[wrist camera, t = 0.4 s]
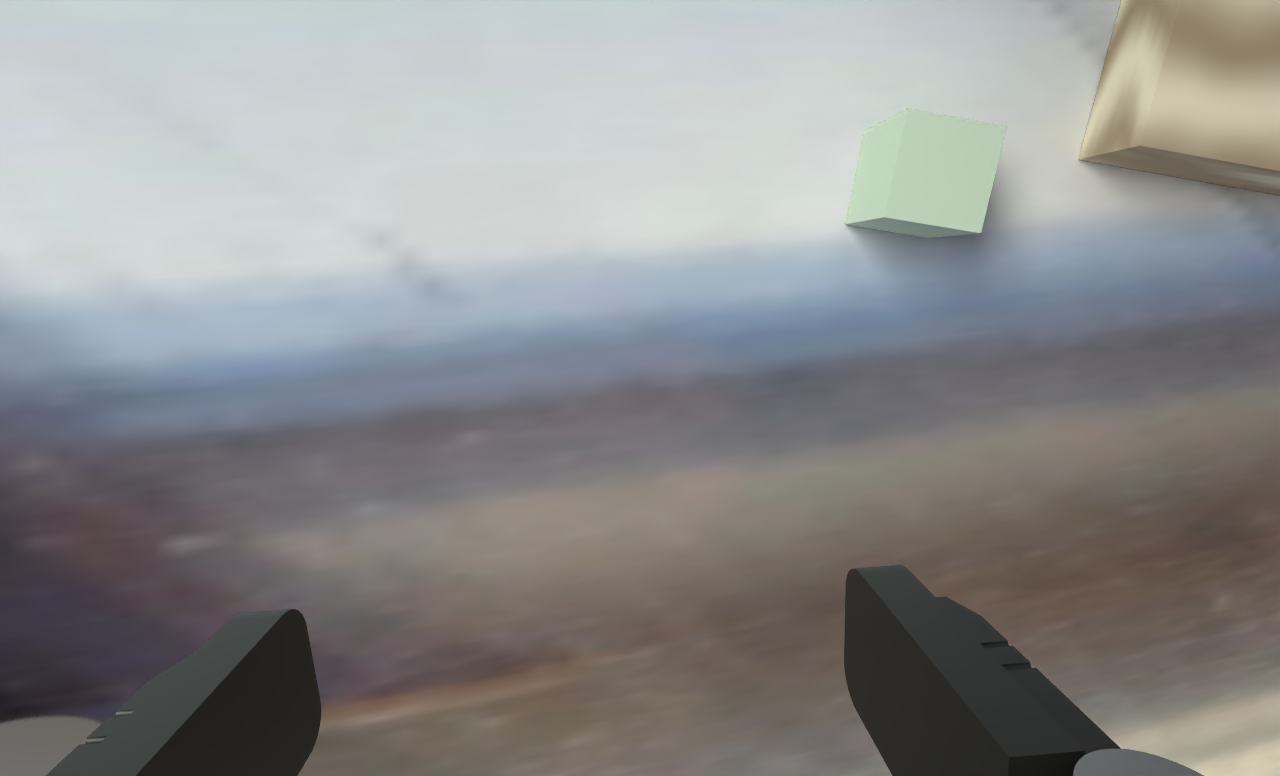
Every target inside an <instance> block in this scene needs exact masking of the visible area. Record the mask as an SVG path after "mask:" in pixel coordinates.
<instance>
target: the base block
mask: <svg viewBox="0 0 1280 776" xmlns="http://www.w3.org/2000/svg"><path fill="white" fill-rule="evenodd" d="M1079 160H1084V161H1090V162H1095V163H1101V164H1107V165H1112V166H1118V167H1123V168H1129V169H1134V170H1140V171H1146V172H1151V173H1157V174H1162V175H1168V176H1174V177H1179V178H1185V179H1190V180H1196V181H1202V182H1207V183H1213V184H1218V185H1224V186H1230V187H1235V188H1241V189H1246V190H1252V191H1257V192H1263V193H1269V194H1274V195H1280V0H1121V4H1120V8H1119V11H1118V15H1117V19H1116V23H1115V26H1114V30H1113V34H1112V37H1111V41H1110V45H1109V49H1108V52H1107V56H1106V60H1105V63H1104V67H1103V71H1102V75H1101V78H1100V82H1099V86H1098V89H1097V93H1096V97H1095V100H1094V104H1093V108H1092V112H1091V115H1090V119H1089V123H1088V126H1087V130H1086V134H1085V138H1084V141H1083V145H1082V149H1081V152H1080V156H1079Z"/></svg>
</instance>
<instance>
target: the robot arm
mask: <svg viewBox="0 0 1280 776" xmlns="http://www.w3.org/2000/svg"><path fill="white" fill-rule="evenodd" d="M844 666H845V675H846V681H847V685H848V689H849V693H850V696H851V699H852V702H853V704H854V707H855V709H856V711H857V712H858V714H859V716H860V718H861V720H862V721H863V723H864V725H865V727H866V729H867V730H868V732H869V734H870V736H871V738H872V739H873V741H874V743H875V745H876V747H877V748H878V750H879V752H880V754H881V756H882V757H883V759H884V761H885V763H886V765H887V766H888V768H889V770H890V772H891V774H892V776H1203V775H1201V774H1200V773H1198V772H1196V771H1194V770H1192V769H1190V768H1187V767H1185V766H1183V765H1181V764H1178V763H1176V762H1173V761H1171V760H1168V759H1165V758H1162V757H1160V756H1156V755H1152V754H1149V753H1145V752H1140V751H1134V750H1129V749H1121V748H1120V747H1119V746H1118V745H1117V744H1115V743H1114V742H1113V741H1112V740H1111V739H1110V738H1109V737H1108V736H1107V735H1106V734H1105V733H1104V732H1103V731H1102V730H1101V729H1100V728H1099V727H1098V726H1097V725H1095V724H1094V723H1093V722H1092V721H1091V720H1090V719H1089V718H1088V717H1087V716H1086V715H1085V714H1084V713H1083V712H1082V711H1081V710H1080V709H1079V708H1078V707H1077V706H1075V705H1074V704H1073V703H1072V702H1071V701H1070V700H1069V699H1068V698H1067V697H1066V696H1065V695H1064V694H1063V693H1062V692H1061V691H1060V690H1059V689H1058V688H1057V687H1056V686H1054V685H1053V684H1052V683H1051V682H1050V681H1049V680H1048V679H1047V678H1046V677H1045V676H1044V675H1043V674H1042V673H1041V672H1040V671H1039V670H1038V669H1037V668H1031V665H1030V662H1029V661H1028V660H1027V659H1026V658H1025V657H1024V656H1023V655H1022V654H1021V653H1020V652H1019V651H1018V650H1017V649H1016V648H1014V647H1013V646H1009V645H1008V641H1007V640H1006V639H1005V638H1004V637H1003V636H1002V635H1001V634H1000V633H999V632H998V631H997V630H996V629H994V628H993V627H992V626H991V625H990V624H989V623H988V622H987V621H986V620H985V619H984V618H983V617H982V616H980V615H978V614H977V613H975V612H973V611H971V610H969V609H967V608H966V607H964V606H962V605H960V604H958V603H956V602H955V601H953V600H951V599H949V598H947V597H935V596H934V595H933V594H932V593H931V592H930V591H929V590H928V589H927V588H926V587H925V586H924V585H923V584H922V583H921V582H920V581H919V580H918V579H917V578H916V577H915V576H914V575H913V574H912V573H911V572H910V571H909V570H908V569H907V568H906V567H904V566H902V565H894V566H881V567H868V568H854V569H851V570H850V571H849V572H848V575H847V579H846V597H845V647H844ZM320 720H321V702H320V696H319V691H318V685H317V680H316V674H315V669H314V664H313V658H312V653H311V647H310V642H309V636H308V631H307V626H306V622H305V619H304V617H303V615H302V614H301V613H300V612H299V611H298V610H295V609H289V610H276V611H262V612H249V613H240V614H237V615H235V616H234V617H232V618H231V619H230V620H229V621H228V622H227V623H226V624H225V625H224V626H223V627H222V628H221V629H219V630H218V631H217V632H216V633H215V634H214V635H213V636H212V637H211V638H210V639H209V640H208V641H207V642H206V643H205V644H204V645H203V646H202V647H201V648H200V649H198V650H197V651H196V652H195V653H193V654H191V655H190V656H188V657H186V658H185V659H183V660H181V661H180V662H178V663H177V664H175V665H173V666H172V667H170V668H168V669H167V670H165V671H164V672H162V673H160V674H159V675H157V676H155V677H154V678H152V679H151V680H149V681H148V682H147V683H146V684H145V685H144V686H143V687H142V688H141V689H139V690H138V691H137V692H136V693H135V694H134V695H133V696H132V697H131V698H130V699H129V700H127V701H126V702H125V703H124V704H123V705H122V706H121V707H120V708H119V709H118V710H117V711H116V715H115V717H109V718H108V719H107V720H106V721H105V722H103V723H102V724H101V725H100V726H99V727H98V728H97V729H96V730H95V731H94V732H93V733H92V734H90V735H89V736H88V737H87V742H86V744H82V745H78V746H77V747H76V748H75V749H74V750H73V751H72V752H71V753H70V754H69V755H68V756H67V757H65V758H64V759H63V760H62V761H61V762H60V763H59V764H58V765H57V766H56V767H55V768H53V770H51V771H50V772H49V773H48V774H47V775H46V776H297V775H298V774H299V772H300V770H301V769H302V767H303V765H304V764H305V762H306V760H307V759H308V757H309V755H310V753H311V752H312V750H313V747H314V745H315V742H316V739H317V736H318V732H319V727H320Z"/></svg>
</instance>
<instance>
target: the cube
mask: <svg viewBox="0 0 1280 776" xmlns="http://www.w3.org/2000/svg"><path fill="white" fill-rule="evenodd" d="M1006 129H1007V126H1002V125H997V124H991V123H986V122H980V121H975V120H969V119H964V118H958V117H953V116H947V115H942V114H936V113H931V112H925V111H920V110H914V109H909V108H907V109H905V110H903V111H901V112H899V113H897V114H896V115H894V116H892V117H890V118H888V119H886V120H884V121H882V122H880V123H879V124H877V125H875V126H873V127H871V128H869V129H867V130H865V131H864V133H863V138H862V142H861V147H860V152H859V157H858V162H857V167H856V172H855V177H854V181H853V186H852V191H851V196H850V201H849V206H848V211H847V215H846V220H845V224H846V225H852V226H858V227H864V228H870V229H876V230H882V231H889V232H895V233H901V234H907V235H913V236H919V237H925V238H935V237H946V236H957V235H967V234H978V233H981V231H982V227H983V223H984V219H985V215H986V211H987V207H988V202H989V198H990V194H991V190H992V186H993V182H994V178H995V174H996V170H997V166H998V162H999V158H1000V154H1001V150H1002V145H1003V141H1004V137H1005V133H1006Z"/></svg>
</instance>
